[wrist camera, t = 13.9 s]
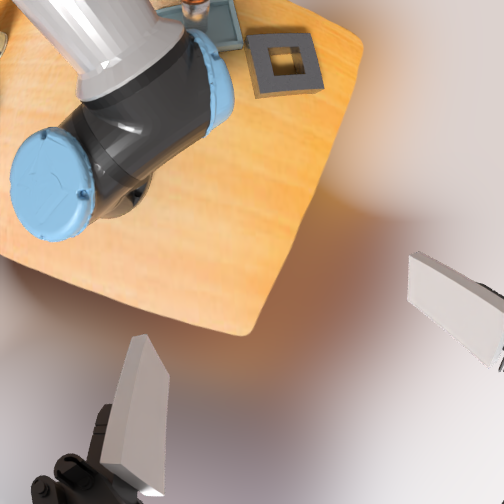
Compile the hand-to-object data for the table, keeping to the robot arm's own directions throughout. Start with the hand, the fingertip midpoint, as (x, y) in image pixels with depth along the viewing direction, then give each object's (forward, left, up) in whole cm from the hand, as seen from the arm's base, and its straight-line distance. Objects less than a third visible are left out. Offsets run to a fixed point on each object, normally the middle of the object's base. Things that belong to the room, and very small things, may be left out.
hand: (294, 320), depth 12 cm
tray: (+1, +32, -36) cm, 48 cm away
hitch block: (+14, +22, -36) cm, 44 cm away
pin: (+1, +32, -36) cm, 48 cm away
